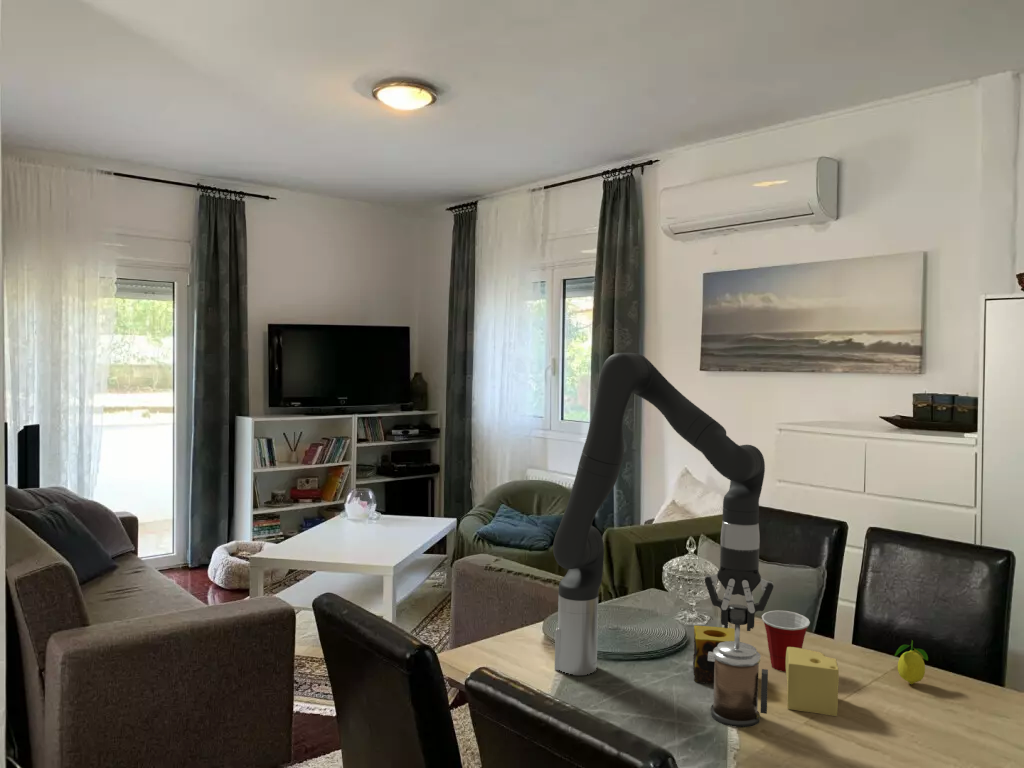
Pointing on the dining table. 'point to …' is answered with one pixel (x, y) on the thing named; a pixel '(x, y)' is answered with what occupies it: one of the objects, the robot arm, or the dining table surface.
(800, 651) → the cheese
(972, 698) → the dining table surface
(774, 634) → the plastic cup
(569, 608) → the robot arm
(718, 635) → the yellow patterned cube
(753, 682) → the carafe
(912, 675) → the lemon
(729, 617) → the plunger
